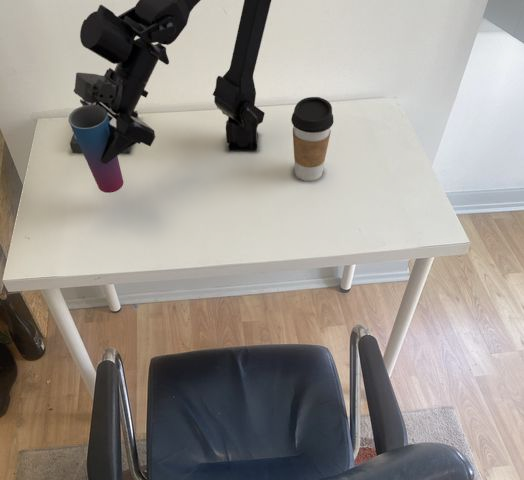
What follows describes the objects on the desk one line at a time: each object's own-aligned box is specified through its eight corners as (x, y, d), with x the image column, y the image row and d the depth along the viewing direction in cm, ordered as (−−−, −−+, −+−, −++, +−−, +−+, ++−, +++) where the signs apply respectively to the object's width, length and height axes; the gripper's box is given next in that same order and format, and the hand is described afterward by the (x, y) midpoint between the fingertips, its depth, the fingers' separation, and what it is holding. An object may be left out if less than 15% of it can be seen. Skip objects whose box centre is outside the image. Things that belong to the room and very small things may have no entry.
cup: (133, 175, 108) (113, 107, 95) (119, 198, 105) (97, 131, 92) (102, 170, 109) (79, 102, 97) (87, 192, 106) (61, 125, 93)
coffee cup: (332, 164, 119) (339, 100, 107) (321, 188, 114) (328, 123, 102) (295, 157, 121) (298, 92, 108) (284, 180, 116) (286, 115, 104)
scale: (139, 120, 129) (136, 107, 127) (129, 153, 122) (126, 141, 119) (85, 119, 130) (81, 107, 127) (72, 152, 122) (68, 140, 120)
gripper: (66, 32, 92) (31, 116, 98) (125, 76, 84) (83, 165, 89) (117, 62, 102) (83, 137, 107) (174, 104, 93) (134, 184, 99)
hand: (94, 154), depth 100 cm, fingers closed on cup, 6 cm apart
